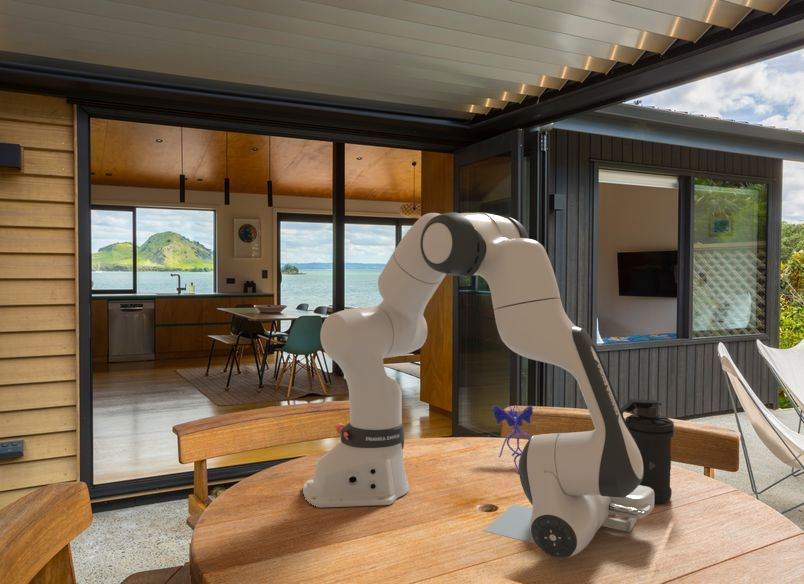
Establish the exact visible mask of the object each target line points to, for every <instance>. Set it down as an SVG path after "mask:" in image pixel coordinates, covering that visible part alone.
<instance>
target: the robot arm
mask: <svg viewBox="0 0 804 584" xmlns="http://www.w3.org/2000/svg"><path fill="white" fill-rule="evenodd" d="M447 275H448V276H455V277H456V276H458V277H466V278H471V277H473V276H479V277H481V278H482V279H484V280H485V282H486V283H487V284H488V287H489V291H490V294H491V303H492V308H493V314H494V318H495V325H496V328H497V332H498V334H499V337H500V339H501V341H502V342H503V344H505V346H506V347H507V348H508V349H510V350H511V351H512V352H513V353H516V354H517V355H519V356H521V357H523V358H526V359H529V360H533V361H538V362H542V363H546V364H550V365H553V366H556V367H559V368H561V369H563V370H565V371H566V372H568V373H570V375H572V377H574V379H575V381H576V382H577V384H578V386H579V389H580V391H581V394H582V397H583V400H584V402H585V406H586V408H587V410H588V413H589V416H590V419H591V421H592V423H593V426H594V429H593V430H586V431H585V430H584V431H575V432H573V431H572V432H555V433H541V434H534V435H531V436H530V438H529V440H527V442H526V444H525V445H524V446H525V447H524V446H523V449H522V450H521V451H522V453H521V452H520V453H521V456H519V459H518V469H519V472H518V474H519V480H520V485H521V487H522V489H523V492H524V495H525V497H526V498H527V499H528V502H529V504H530V505H531V506H532V508H533V510H532V516H531V520H530V533H531V537H532V539H533V541H534V543H535V544H534V543H533V544H534V545H536V546H537V548H538V549H539V550H541V552H543V553H545V554H546V555H548V556H550V557H552V558H557V559H567V558H572V557H574V556H577V555H578V554H579V553H580V552H582V551H583V550H584V549H586V548H587V546H588V545H589V544H590V543H591V542H592V540H593V539H594V537H595V536H596V533H597V532H598V531H599V529H601V527H603V526H602V524H603V523H604V521H605V520H606V519H607V517H608V516H609V514H613V515H614V516H615V515H616V516H620V517H624V518H628V517H629V518H635V519H637V520H638V519H644V518H646V517H647V516H648V515H650V513H651V512H652V511H653V510H654V507H655V504H654V490H653V489H652V488H650V487H647V486H642V485H639V484H640V483H641V481H642V480H643V476H644V471H643V460H642V456H641V453H640V451H639V449H638V447H637V444H636V442H635V440H634V438H633V436H632V434H631V432H630V430H629V428H628V426H627V424H626V418H625V416H624V413H623V414H622V412H621V407H620V404H619V401H618V399H617V396H616V394H615V392H614V389H613V386H612V384H611V381H610V379H609V377H608V374H607V370H606V368H605V365H604V364H603V361H602V358H601V356H600V353H599V352H598V349H597V347H596V345H595V343H594V341H593V339H592V337H591V336H590V335H589V333H588V332H587V330H586V329H585V328H582V327H579V326H577V325H575V324H574V323H573V322H572V321H571V319H570V318H569V315H567V313H566V311H565V309H564V306H563V304H562V299H561V294H560V289H559V285H558V281H557V278H556V277H557V276H556V274H555V272H554V268H553V266H552V263H551V260H550V257H549V256H548V253H547V251H546V249H545V247H544V245H543V244H541V243H540V242H539V241H537V240H535V239H531V238H529V235H528V231H527V230H526V228H525V227H524V226H523V224H522V223H520V222H519V220H516V219H514V218H513V217H509V216H507V215H505V214H504V215H503V214H497V215H496V214H493V213H488V212H481V211H479V212H478V211H477V212H461V213H459V212H456V211H455V212H453V211H452V212H445V213H438V212H428V213H425V214H424V215H422V216H421V217H419V218H418V219H417V220H416V221H415V222H414V224H413V225H412V226H411V227H410V228H409V229H408V231H406V233H405V234H404V236H403V237H402V238H401V240H400V241H399V243H398V244H397V246H396V247H395V249H394V251H393V252H392V255H391V256H390V257H389V259H388V260H387V263H386V264H385V266H384V268H383V269H382V271H381V273H380V274H379V276H378V278H377V287H378V292H379V294H380V296H381V298H382V299H383V300H382V301H381V302H380V303H379V304H378V305H375V306H371V307H354V308H347V309H344V310H339V311H336V312H333V313H331V314H329V315H328V316H326V318H325V319H324V321H323V323H322V325H321V328H320V335H319V336H320V337H319V338H320V343H321V347H322V349H323V350H324V353H325V354H326V355H327V356H328V357H329V358H330V359H331V360H332V361H334V363H336V364H337V365H338V367H339V368H340V369H341V372H342V373H343V375H344V377H345V380H346V384H347V388H348V398H349V422H348V423H346V425H344V423H342V422H338V423H336V425H335V431H336V432H337V433H338V434H339V435H340V442H339V443H337V444H336V445H335V446H333V447H332V448H331V449H330V450H328V451H327V452H326V453H325V454H324V455H322V456H321V457H320V458H319V459H318V460H317V461H316V465H315V468H314V472H313V478H312V479H308V480H306V482H305V483H304V484H303V486H302V487H303V488H302V495H303V494H304V496H303V498H304V497H305V498H304V500H305V501H306V500H307V501H308V502H309V503H308V502H307V501H306V502H307V503H308V504H310V503H311V504H312V505H311V504H310V505H311V506H313V505H314V507H315V506H316V508H339V507H341V508H342V507H364V506H365V507H368V506H389V505H392V504H393V503H394V502H395V501H396V500H397V499H398V498H401V497H403V496H404V495H406V494H407V493H408V492H409V490H410V485H409V482H408V481H409V480H408V478H407V474H406V468H405V460H404V459H405V458H404V451H403V449H404V448H405V446H404V445H405V426H404V425H405V423H404V422H403V420H402V418H403V416H402V413H403V411H402V409H403V408H402V407H403V402H402V401H403V398H402V397H403V395H402V394H403V391H402V387H401V385H400V383H399V382H398V381H396V380H395V379H394V378H392V377H390V376H388V374H387V372H386V369H385V366H384V359H388V358H394V357H399V356H400V357H401V356H405V355H408V354H410V353H412V352H415V351H417V350H420V349H421V348H422V347H423V346H424V344H425V343H426V341H427V338H428V323H427V321H426V318H425V316H424V314H425V313H424V312H425V310H426V307H427V305H428V304H429V302H430V300H431V299H432V298H433V296H434V294H435V293H436V291H437V290H438V287H439V286H440V285H441V283H442V281H443V280H444V279H445V277H446V276H447Z"/></svg>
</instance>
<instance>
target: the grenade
mask: <svg viewBox="0 0 804 584" xmlns="http://www.w3.org/2000/svg"><path fill="white" fill-rule="evenodd" d="M661 403H662V402H660V401H659V400H652V399H637V398H635V399H633V398H631V399H630V400H629V401H627V403H625V404H624V405H623V406H622V407H620V409H621V412H622V414H623V415H624V413H625V411H626V412H627V413H628V414H630V415H629V416H626V417H625V421H626V424H627V426H628V428H629V430H630V432H631V434H632V436H633V438H634V440H635V442H636V444H637V447H638V449H639V451H640V453H641V456H642V460H643V471H644V476H643V480H642V481H641V483H640V484H639V485H642V486H647V487H650V488H652V489H653V490H654V505H655V504H665V503H666V502H668V501H670V499H671V498H672V491H673V490H672V488H671V469H672V453H671V450H672V437H673V436H674V432H675V431H674V428H675V423H674V421H673V420H671V419H670V418H669V417H667V416H664V415H663V416H660V415H659V414H658V412H657V411H658V405H659V406H662V404H661Z"/></svg>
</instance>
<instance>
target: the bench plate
mask: <svg viewBox="0 0 804 584" xmlns="http://www.w3.org/2000/svg"><path fill="white" fill-rule="evenodd" d="M532 510H533V507H528V506H524V505H520V504H516V503H513V504H511V506H509V507H508V508H507V509H506V510H505V511H504V512H502V514H500V515H498V517H497V518H496V519H495V520H494V521H493V522H491V523H490V524H489V525H487V527H485V528H484V529H483V530H482V531H483V532H487V533H491V534H495V535H499V536H503V537H507V538H510V539H515V540H518V541H522V542H527V543H530V544H534V545H536V544H535V543H534V541H533V539H532V537H531V533H530V520H531V516H532Z"/></svg>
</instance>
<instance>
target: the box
mask: <svg viewBox="0 0 804 584" xmlns="http://www.w3.org/2000/svg"><path fill="white" fill-rule="evenodd" d="M637 521H638V519H635V518H629V517H627V519H626V520H625V519H619V518H615V517H607V519H606V520H605V521H604V523H603V524H602V526H601V527H605V528H610V529H614V530H618V531H621V532H622V531H623V532H627V533H630V532H631V531H632V530H633V528H634V526H635V525H636V522H637Z"/></svg>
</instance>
